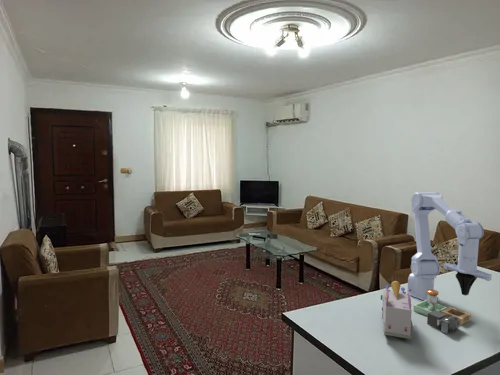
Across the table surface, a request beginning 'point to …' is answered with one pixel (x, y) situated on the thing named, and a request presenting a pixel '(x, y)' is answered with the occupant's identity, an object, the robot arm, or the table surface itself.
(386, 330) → the toy vehicle
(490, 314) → the table surface
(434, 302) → the pin
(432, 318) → the block
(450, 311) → the socket block
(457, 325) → the trolley wheel
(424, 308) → the tray
